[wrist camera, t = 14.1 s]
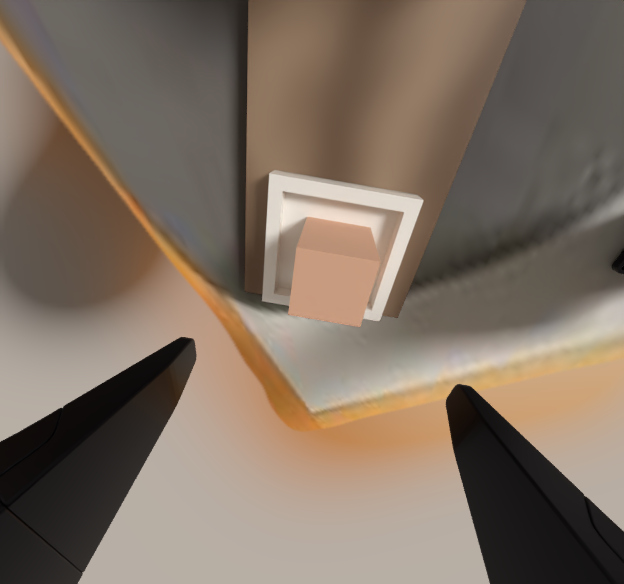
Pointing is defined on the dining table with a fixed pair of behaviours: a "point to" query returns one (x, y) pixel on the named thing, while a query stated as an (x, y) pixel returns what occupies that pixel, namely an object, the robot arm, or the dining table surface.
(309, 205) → the dish
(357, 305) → the block
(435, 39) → the board
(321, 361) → the dining table surface
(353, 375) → the dining table surface
